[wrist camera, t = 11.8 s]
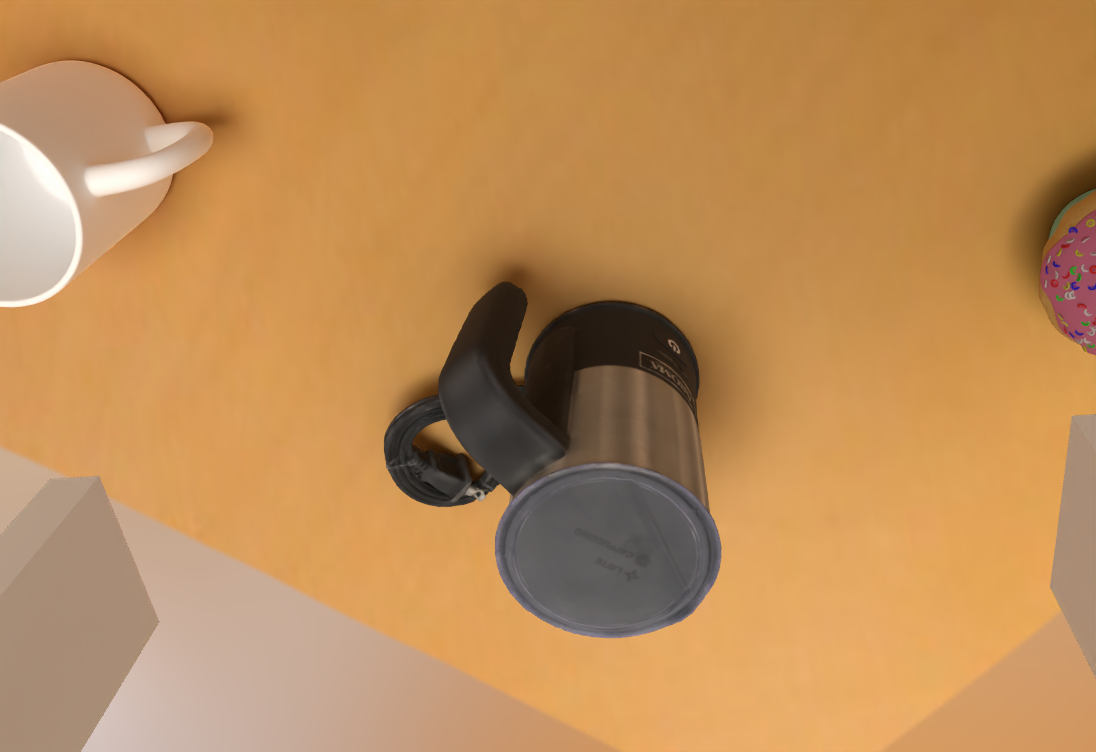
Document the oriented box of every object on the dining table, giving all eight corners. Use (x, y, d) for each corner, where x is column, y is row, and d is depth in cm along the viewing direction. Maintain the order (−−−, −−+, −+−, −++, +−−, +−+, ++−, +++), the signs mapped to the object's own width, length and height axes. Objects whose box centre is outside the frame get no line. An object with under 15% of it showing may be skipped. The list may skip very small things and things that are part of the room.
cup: (-18, 75, 49) (-163, 134, 40) (213, 24, 47) (115, 74, 38) (56, 235, 53) (-61, 321, 44) (273, 194, 51) (196, 276, 42)
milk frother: (735, 350, 53) (766, 524, 40) (591, 557, 60) (579, 761, 47) (488, 225, 51) (437, 368, 38) (370, 456, 58) (293, 642, 45)
